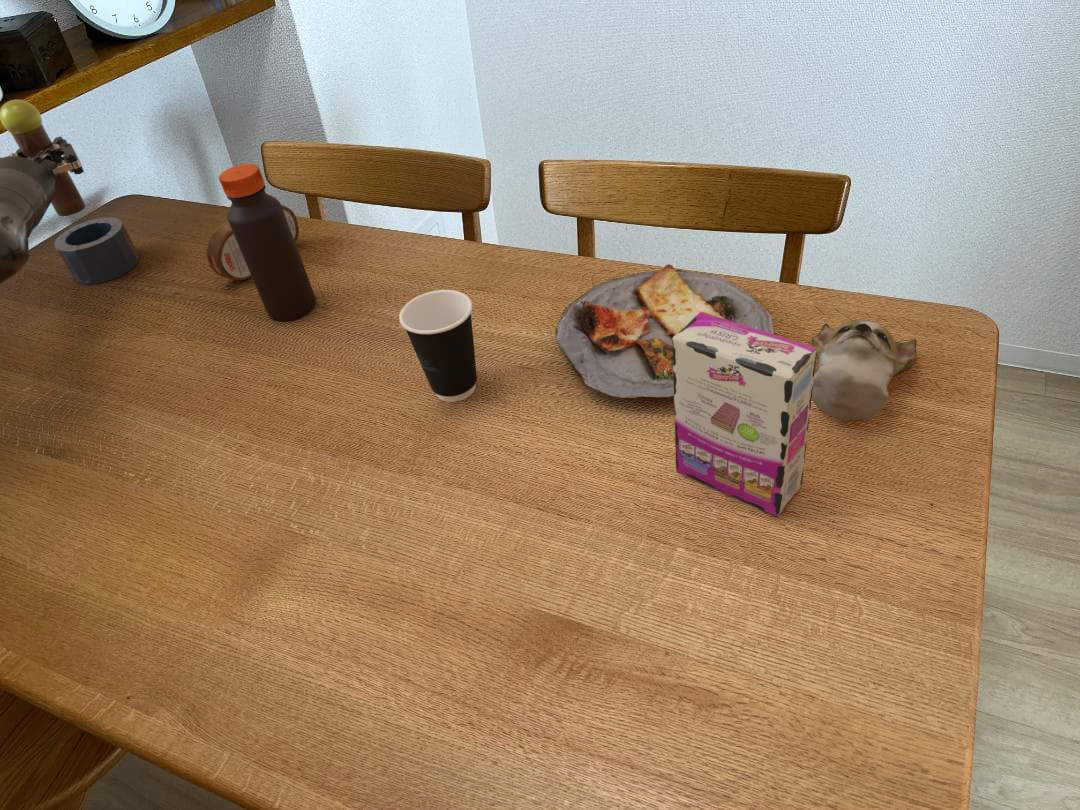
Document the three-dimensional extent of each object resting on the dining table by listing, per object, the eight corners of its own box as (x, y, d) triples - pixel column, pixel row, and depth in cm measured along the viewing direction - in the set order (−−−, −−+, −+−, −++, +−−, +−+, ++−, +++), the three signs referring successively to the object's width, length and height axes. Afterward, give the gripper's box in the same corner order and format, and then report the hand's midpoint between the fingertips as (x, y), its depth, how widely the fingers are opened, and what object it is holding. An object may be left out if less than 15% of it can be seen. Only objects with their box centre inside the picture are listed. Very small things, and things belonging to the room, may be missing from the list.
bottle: (327, 299, 112) (277, 163, 99) (293, 326, 108) (236, 188, 95) (292, 290, 115) (240, 157, 102) (257, 316, 111) (199, 181, 98)
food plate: (533, 317, 102) (529, 293, 100) (698, 264, 106) (698, 241, 104) (614, 438, 84) (611, 412, 81) (809, 369, 88) (812, 343, 86)
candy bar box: (804, 485, 76) (821, 346, 65) (778, 519, 73) (792, 380, 62) (700, 441, 82) (700, 307, 71) (673, 471, 79) (669, 337, 68)
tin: (295, 239, 127) (277, 189, 121) (309, 243, 125) (291, 193, 119) (218, 288, 118) (195, 237, 113) (231, 293, 116) (208, 241, 111)
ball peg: (66, 220, 115) (4, 109, 105) (48, 214, 118) (-15, 106, 107) (95, 204, 118) (37, 95, 108) (76, 199, 121) (18, 92, 110)
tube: (98, 289, 122) (79, 255, 119) (61, 277, 127) (41, 243, 123) (152, 257, 128) (135, 223, 124) (114, 246, 133) (97, 213, 129)
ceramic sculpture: (790, 352, 76) (826, 277, 87) (782, 422, 82) (816, 344, 92) (911, 375, 72) (933, 293, 82) (893, 448, 77) (917, 363, 87)
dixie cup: (497, 368, 95) (481, 289, 88) (478, 413, 89) (459, 333, 82) (434, 365, 97) (413, 288, 90) (412, 409, 91) (387, 330, 84)
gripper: (55, 157, 100) (83, 110, 113) (-64, 182, 99) (-21, 131, 112) (85, 212, 105) (109, 161, 118) (-28, 236, 103) (9, 182, 116)
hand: (45, 147), depth 115 cm, fingers closed on ball peg, 4 cm apart
